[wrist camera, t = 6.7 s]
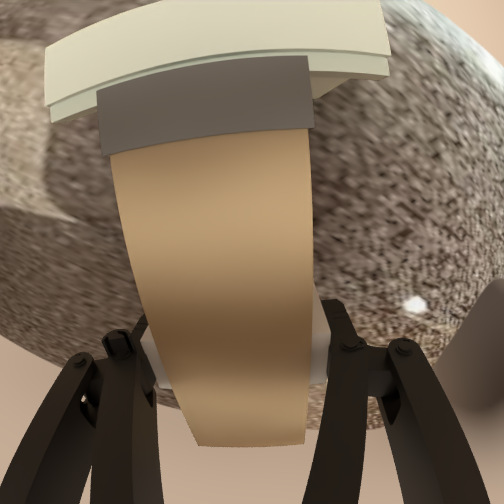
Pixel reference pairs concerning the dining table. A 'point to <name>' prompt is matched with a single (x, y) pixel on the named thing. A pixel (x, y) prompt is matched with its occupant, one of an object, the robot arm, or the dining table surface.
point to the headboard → (215, 44)
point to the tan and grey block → (221, 237)
